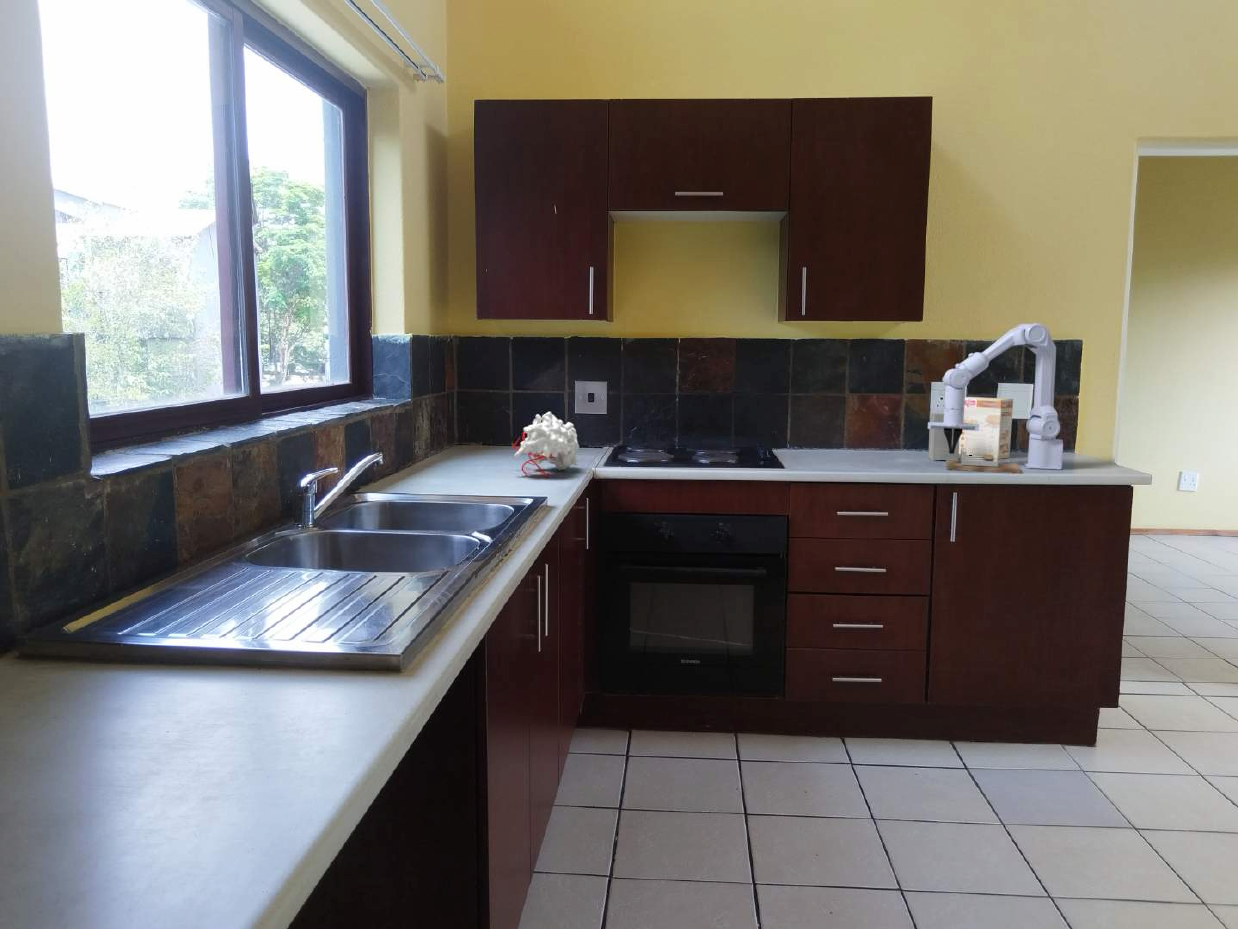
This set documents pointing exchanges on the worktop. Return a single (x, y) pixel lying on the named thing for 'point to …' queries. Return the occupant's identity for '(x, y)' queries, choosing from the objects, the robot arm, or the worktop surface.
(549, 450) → the molecular structure model
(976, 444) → the coffeecake box
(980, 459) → the panel
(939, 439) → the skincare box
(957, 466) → the board
